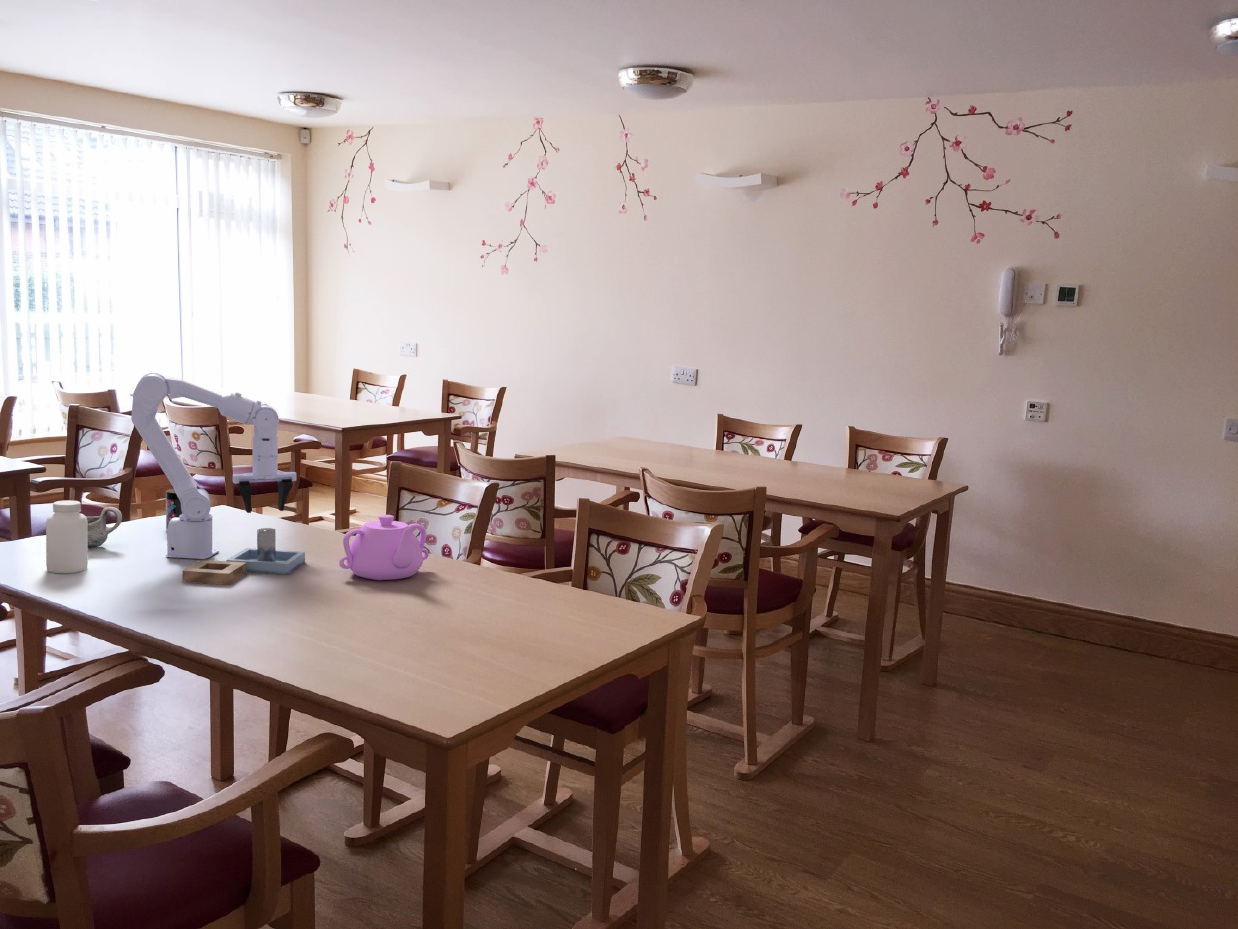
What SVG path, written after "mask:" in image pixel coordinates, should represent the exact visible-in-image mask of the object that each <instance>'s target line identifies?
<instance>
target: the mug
mask: <svg viewBox="0 0 1238 929" xmlns="http://www.w3.org/2000/svg"><path fill="white" fill-rule="evenodd" d="M108 512H111V513H113V514H114V515H115V517H116V522H115V524H114V525H113V526H112V527H110V526H109V527H108V526H107V524H106V522H107V516H108ZM86 518H87V520H88V550H92V549H97V548H98V547H101V546H103V545H104V543H105V542H106V541H107V540H108V536H109V534H111V533H113V532H114V531H115V530H116V529H117V528H118V527H119V526H120V525H121V524H122V520H123V514H122V512H121V510H119V508H116V507H113V506H108V507H105V508H103V509H102V511H101V512H100V515H99V516H94V515H93V516H86Z"/></svg>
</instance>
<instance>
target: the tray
mask: <svg viewBox="0 0 1238 929" xmlns="http://www.w3.org/2000/svg"><path fill="white" fill-rule="evenodd" d="M225 561H231V562H247V563H246V573H255V574H257V573H258V574H270V575H285V576H289V575H290V574H291V573H293V571H295V570H297V569H298V568H299V567H301V566H302V565H303V564H304V563H306V551H297V550H283V549H282V550H281V549H276V562H271V561H257V548H251V547H250V548H249V547H246V548H244V549H243V550H241V551H239V552H237V553H235V554H234V555H232V556H230V557H229V558H227V559H226V560H225Z"/></svg>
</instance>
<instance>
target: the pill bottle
mask: <svg viewBox="0 0 1238 929" xmlns="http://www.w3.org/2000/svg"><path fill="white" fill-rule="evenodd" d="M52 512H53V513H52V514H50V515H49V516H48V517H47V518H46V522H45V524H46V525H45V538H46V539H45V541H46V542H45V546H46V547H45V550H46V552H45V560H46V561H45V566H46V570H47V571H48V572H49V573H53V574H75V573H80V572H83V571H85V570H87V569H88V563H89V561H88V560H89V559H88V558H89V556H88V552H89V549H88V520H87V518H86V517H87V516H86V515H85V514H83V513H81V512H82V504H81V502H80V501H78V500H68V499H67V500H57V501H54V502H52Z"/></svg>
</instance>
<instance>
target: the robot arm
mask: <svg viewBox="0 0 1238 929" xmlns="http://www.w3.org/2000/svg"><path fill="white" fill-rule="evenodd" d="M167 395H169V400H172V399H178V398H179V399H180V398H185V399H188V400H192V401H195V402H198V403H201V404H204V405H207V406H211V407H213V408H216V409H218V411H219V413H220V415H221V416H223V417H225V418H228V419H231V420H234V421H236V422H240V423H242V424H246V425H250V424H252V425H253V435H252V459H251V460H252V466H251V467H252V468H251V469H252V472H245V473H238V474H237V473H235V474H232V483H233V484H236V486H237V489H238V490H239V492H240V495H241V497H242V499H243V502H244V503H243V504H244V507H245V512H246V513H247V514H252V490H253V486H252V485H251V483H264V482H267V483H268V482H276V483H277V490H278V491H277V492H278V500H277V509H278V510H279V511H280V512H284V510H285V505H286V501H287V499H288V496H289V493H290V492H291V490H292V488H293V486H294V482H297V472H295V471H278V461H279V459H278V456H279V455H278V454H279V451H278V449H279V444H278V443H279V442H278V441H279V440H278V438H279V437H278V426H279V423H280V418H279V415H278V413H277V411H276V410H275V409H274V407H272V406H270V405H269V404H267V403H262V401H261V400H257V401H255V400H252V399H249V398H246V397H243V396H242V393H240V392H235V393H232V392H228V393H226V394H224V395H222V394H219V393H216V392H214V391H211V390H209V389H206V388H204V387H201V386H199V385H196V384H193V383H191V382H188V381H186V380H183V379H182V378H181V379H180V378H176V377H174V376H168V375H165V376H163V375H162V374H160V373H157V372H150V373H146V374H145V375H143V376H142V377H141V378H140V379H139V381H138V383H137V385H136V386H135V389H134V391H133V392H132V406H131V415H130V416H131V417H130V419H131V422H132V424H133V426H134V427H135V429H136V431H137V432H138V434H139V435H140V436H141V439H142V440H143V442H144V443H145V445H146V447H147V448H148V450H149V451H150V453H151V454H152V456H153V458H154V459H155V461H156V462H157V464H158V465H159V467H160V469H161V470H162V472H163V473H164V474H165V477H166V478H167V480H168V481H169V482H170V485H171V486H172V487H173V488H172V489H174V490H175V492H176V494H177V497H178V498H179V500H180V502H181V510H182V515H180V516H179V518H177V517H175V518H172V519H171V520H170V522H169V524H168V529H166V530H167V532H166V534H167V535H166V539H167V543H166V546H167V547H166V548H167V549H166V551H167V552H166V554H165V557H167V558H176V559H177V558H178V559H179V558H180V559H194V560H195V559H197V560H208V558H210V557H213V556H214V555H216V554H218V553H219V552H220V550H219V549H213V515H212V514H210V512H211V508H212V507H211V497H210V494H209V493H208V491H207V490H205V489H204V488H202V487H201V486H200V485H198V483H197V481H196V479H195V478H194V477H193V476H192V475H191V473H190V471H189V470H188V468H187V467H186V465H185V464H184V462H183V461H182V459H181V456H180V455H179V454H178V453H177V451H176V449H175V447H174V446H173V445H172V443H171V441H170V439H169V438H168V436H167V435H166V433H165V432H164V430H163V428H162V426H161V425H160V423H159V422H158V420H157V418H156V416H157V412H158V410H159V407H160V405H161V404H162V402H163V401H164V400H165V398H166V397H167Z"/></svg>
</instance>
